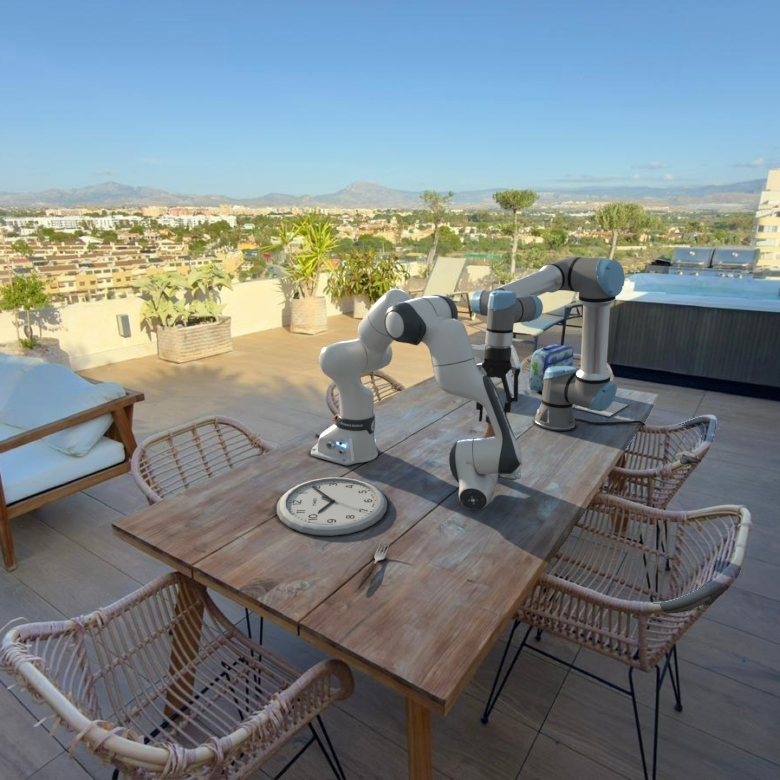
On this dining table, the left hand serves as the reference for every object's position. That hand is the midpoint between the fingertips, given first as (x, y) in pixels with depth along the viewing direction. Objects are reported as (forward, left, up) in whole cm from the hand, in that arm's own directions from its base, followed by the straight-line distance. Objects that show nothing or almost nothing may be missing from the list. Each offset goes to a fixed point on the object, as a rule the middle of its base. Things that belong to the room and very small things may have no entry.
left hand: (489, 455), depth 161 cm
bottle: (0, -1, -6) cm, 6 cm away
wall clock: (-37, -34, -6) cm, 51 cm away
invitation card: (+37, +82, -6) cm, 90 cm away
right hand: (0, -1, +11) cm, 12 cm away
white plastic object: (-17, +83, -6) cm, 85 cm away
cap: (0, -1, +13) cm, 13 cm away
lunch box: (+14, +101, -6) cm, 102 cm away
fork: (-17, -57, -6) cm, 60 cm away
